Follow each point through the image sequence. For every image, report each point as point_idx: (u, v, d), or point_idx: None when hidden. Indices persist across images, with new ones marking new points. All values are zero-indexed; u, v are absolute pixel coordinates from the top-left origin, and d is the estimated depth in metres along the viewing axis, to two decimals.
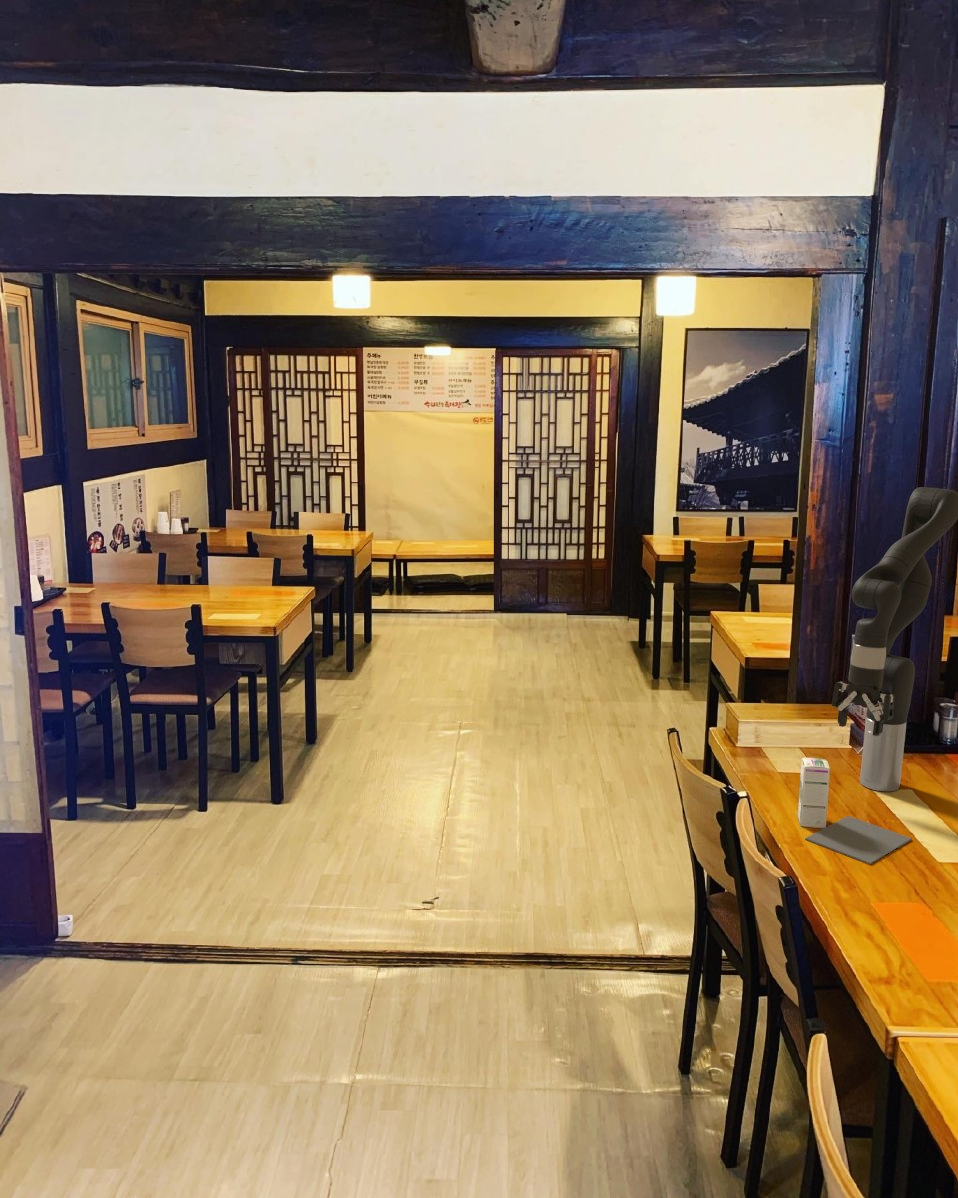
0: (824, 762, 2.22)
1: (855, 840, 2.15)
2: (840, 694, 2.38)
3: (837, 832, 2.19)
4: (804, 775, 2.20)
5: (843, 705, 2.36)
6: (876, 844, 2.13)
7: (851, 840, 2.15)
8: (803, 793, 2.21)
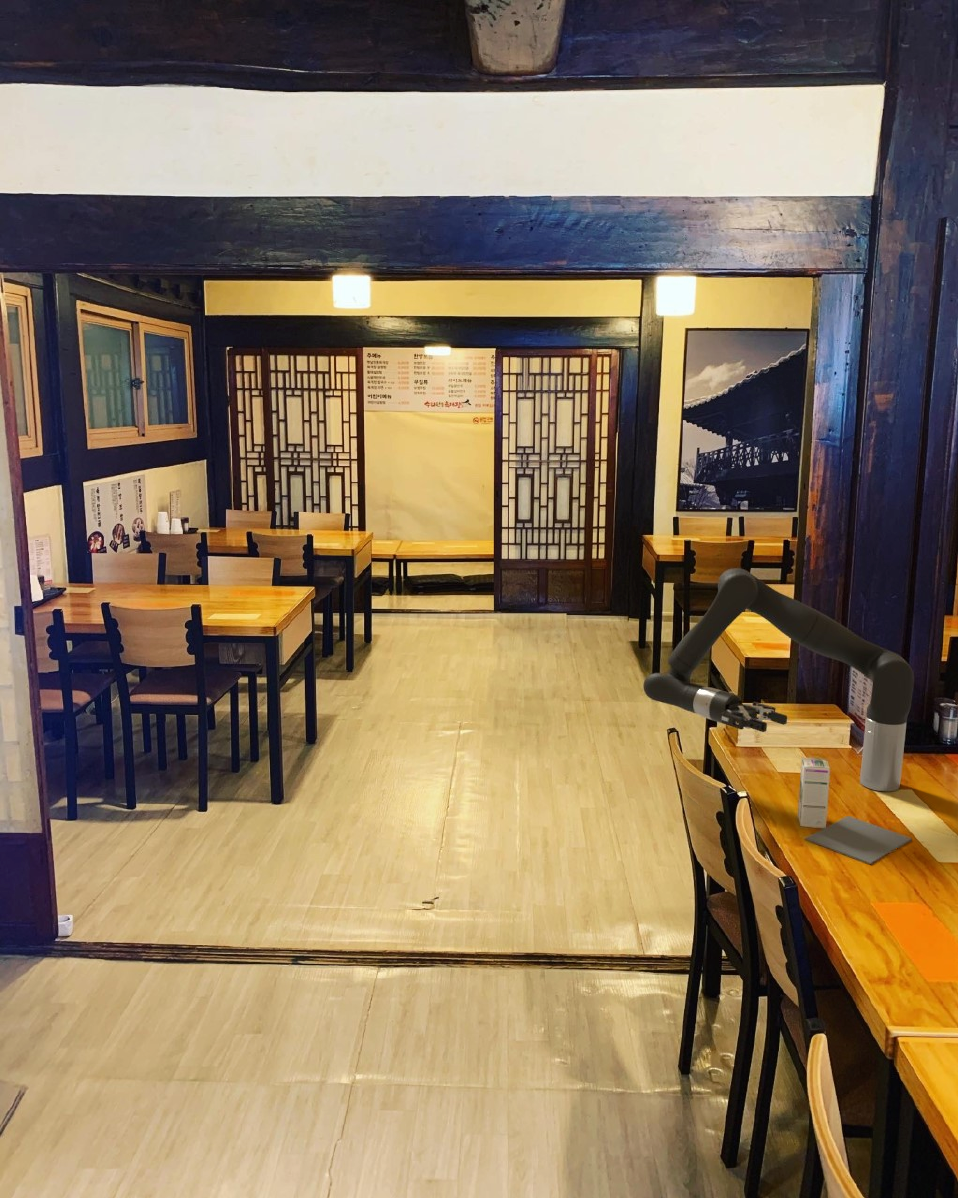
0: (824, 762, 2.22)
1: (855, 840, 2.15)
2: None
3: (837, 832, 2.19)
4: (804, 775, 2.20)
5: None
6: (876, 844, 2.13)
7: (851, 840, 2.15)
8: (803, 793, 2.21)
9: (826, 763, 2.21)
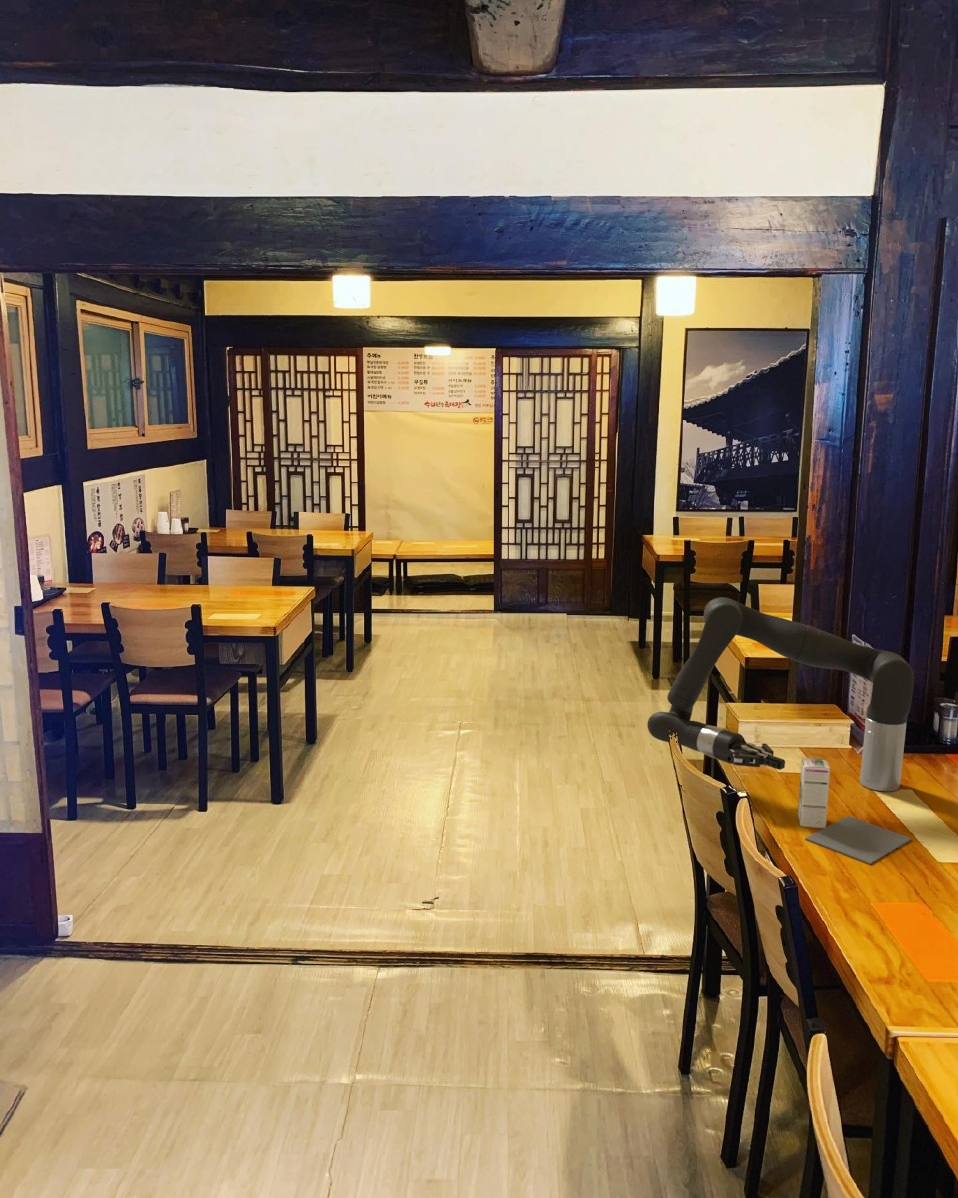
0: (824, 762, 2.22)
1: (855, 840, 2.15)
2: None
3: (837, 832, 2.19)
4: (804, 775, 2.20)
5: None
6: (876, 844, 2.13)
7: (851, 840, 2.15)
8: (803, 793, 2.21)
9: (826, 763, 2.22)
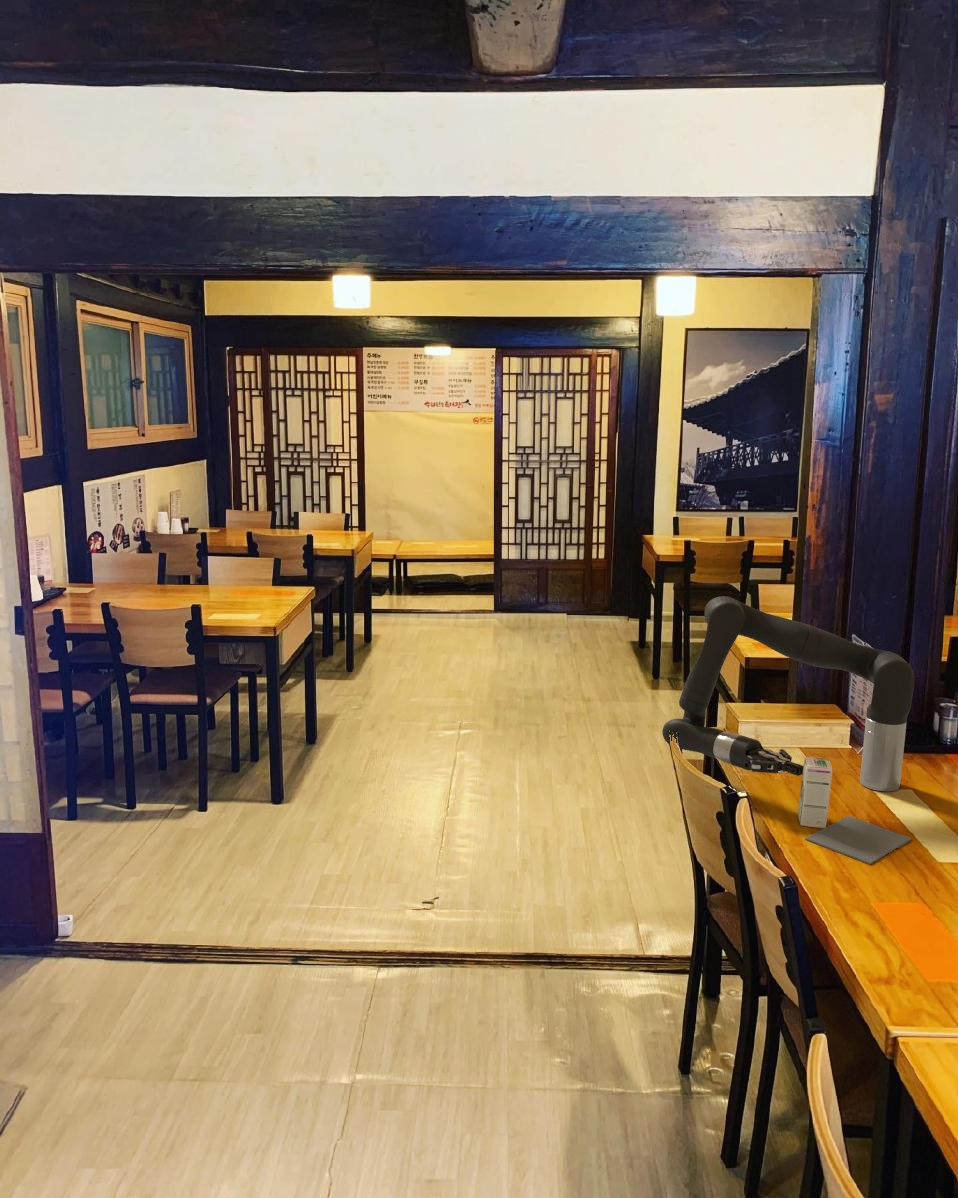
0: (827, 762, 2.22)
1: (855, 840, 2.15)
2: None
3: (837, 832, 2.19)
4: (806, 775, 2.20)
5: None
6: (876, 844, 2.13)
7: (851, 840, 2.15)
8: (804, 793, 2.21)
9: (829, 763, 2.21)
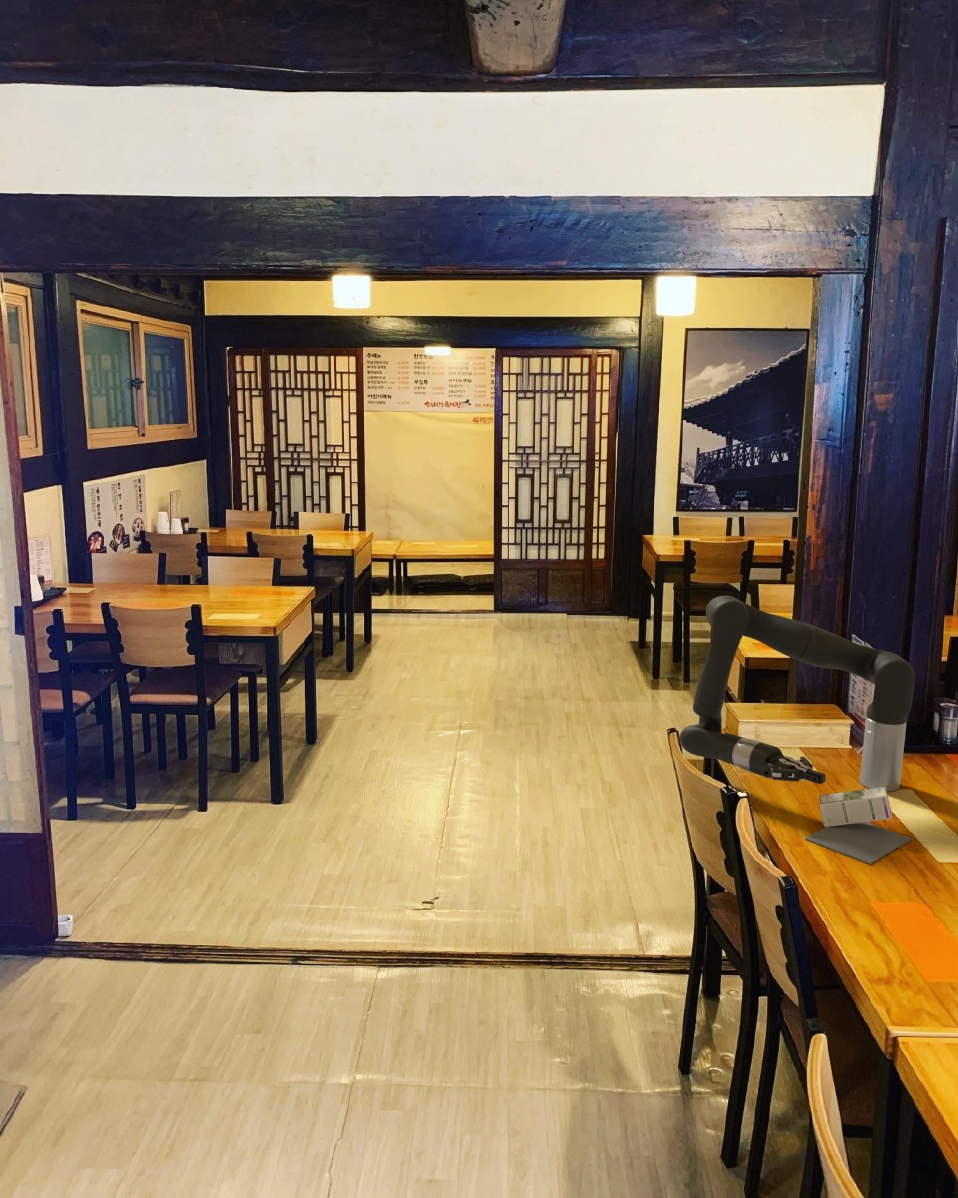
0: None
1: (855, 840, 2.15)
2: None
3: (837, 832, 2.19)
4: (877, 797, 2.17)
5: None
6: (876, 844, 2.13)
7: (851, 840, 2.15)
8: (856, 800, 2.19)
9: None
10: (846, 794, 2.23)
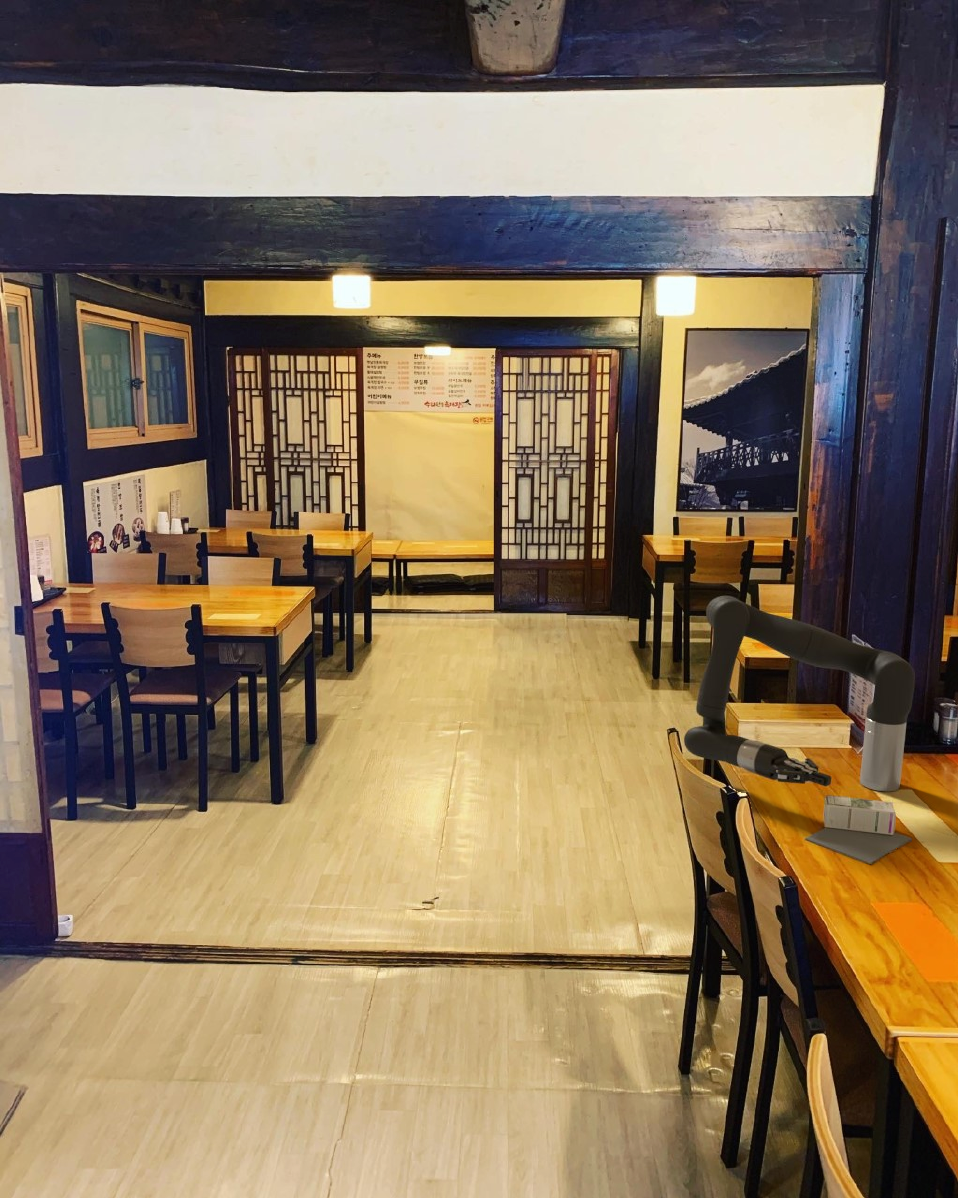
0: None
1: (855, 840, 2.15)
2: None
3: (837, 832, 2.19)
4: (885, 811, 2.17)
5: None
6: (876, 844, 2.13)
7: (851, 840, 2.15)
8: (864, 809, 2.18)
9: None
10: (854, 800, 2.22)
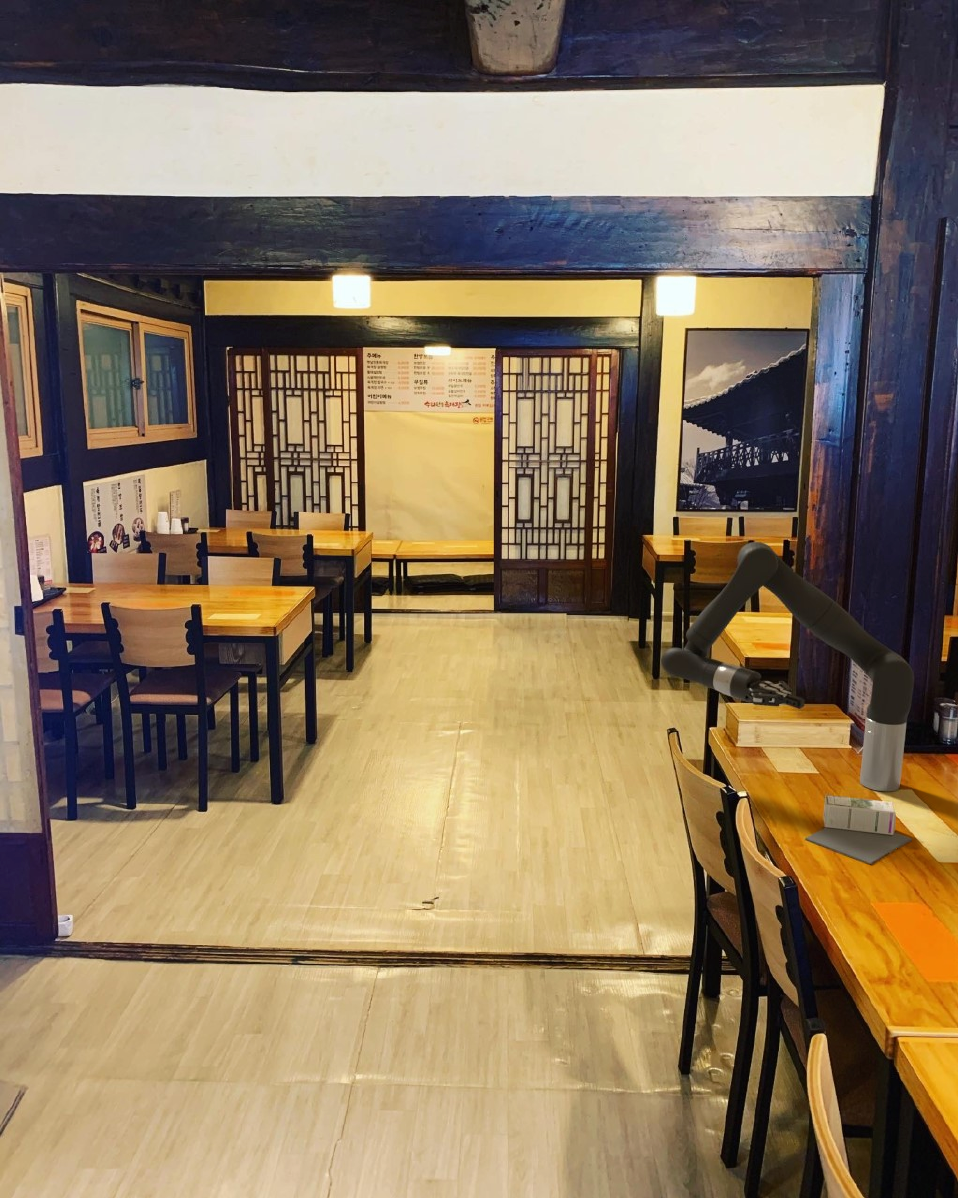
0: None
1: (855, 840, 2.15)
2: None
3: (837, 832, 2.19)
4: (885, 811, 2.17)
5: None
6: (876, 844, 2.13)
7: (851, 840, 2.15)
8: (864, 809, 2.18)
9: None
10: (854, 800, 2.22)
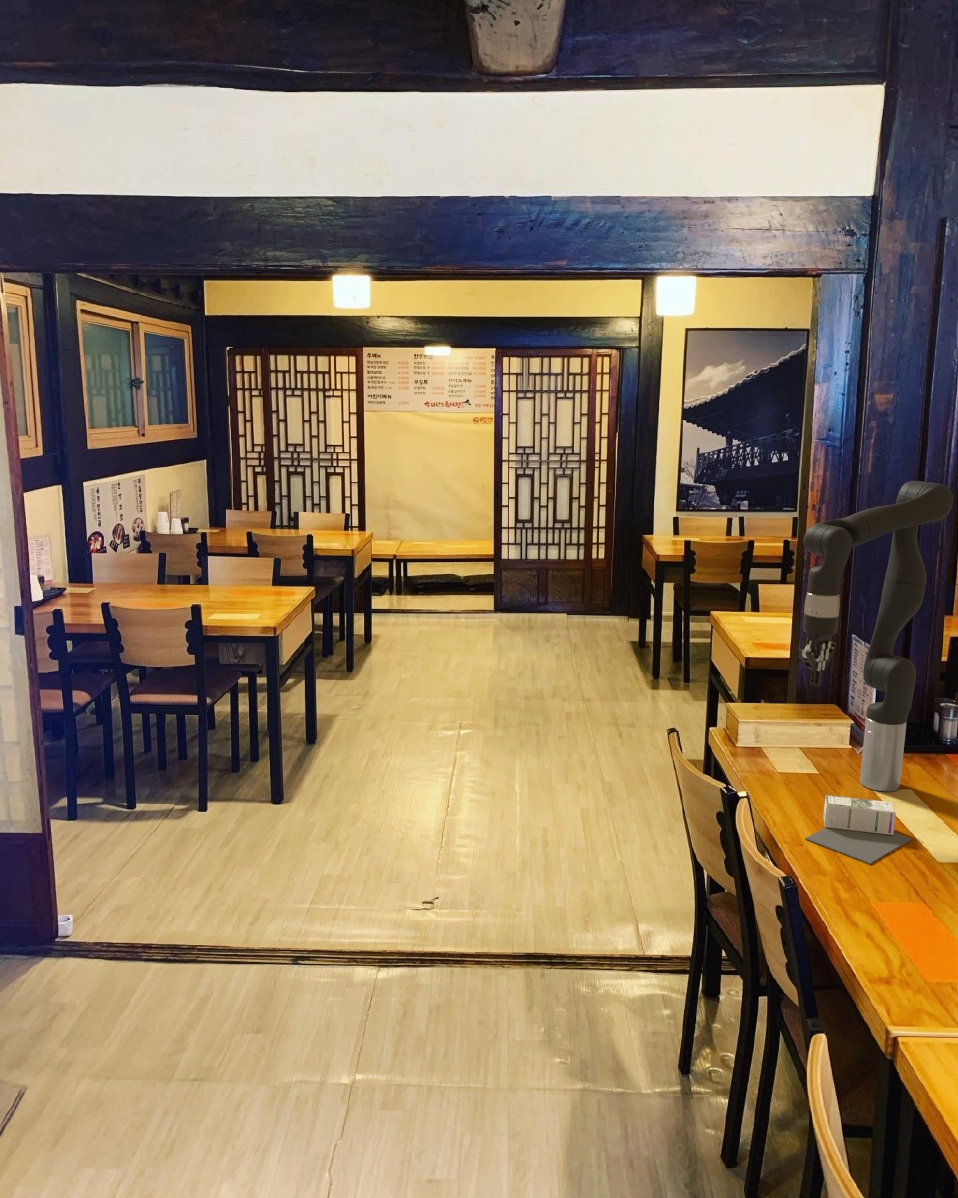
0: None
1: (855, 840, 2.15)
2: None
3: (837, 832, 2.19)
4: (885, 811, 2.17)
5: None
6: (876, 844, 2.13)
7: (851, 840, 2.15)
8: (864, 809, 2.18)
9: None
10: (854, 800, 2.22)
